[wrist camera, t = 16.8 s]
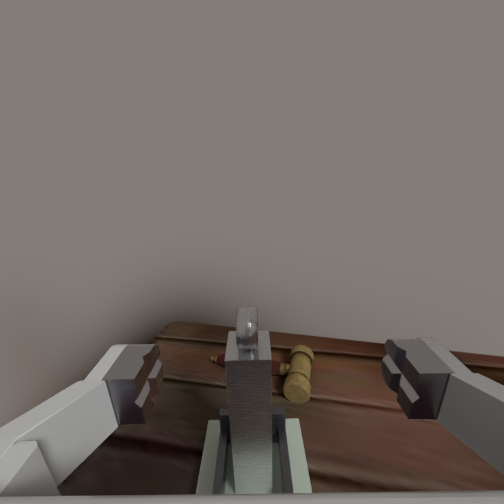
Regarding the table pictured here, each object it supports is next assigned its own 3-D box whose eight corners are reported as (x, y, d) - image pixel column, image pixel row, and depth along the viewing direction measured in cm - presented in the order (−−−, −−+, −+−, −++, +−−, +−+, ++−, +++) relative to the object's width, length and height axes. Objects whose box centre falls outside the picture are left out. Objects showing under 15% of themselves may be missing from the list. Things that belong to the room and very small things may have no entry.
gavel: (197, 367, 47) (219, 334, 56) (201, 385, 48) (221, 351, 57) (309, 386, 40) (313, 345, 49) (310, 407, 42) (313, 364, 51)
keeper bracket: (322, 560, 25) (326, 520, 23) (186, 561, 25) (177, 522, 23) (298, 425, 38) (299, 391, 36) (209, 426, 39) (205, 393, 36)
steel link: (272, 494, 29) (271, 323, 21) (235, 494, 29) (221, 324, 22) (270, 453, 33) (268, 298, 26) (237, 454, 33) (226, 299, 26)
